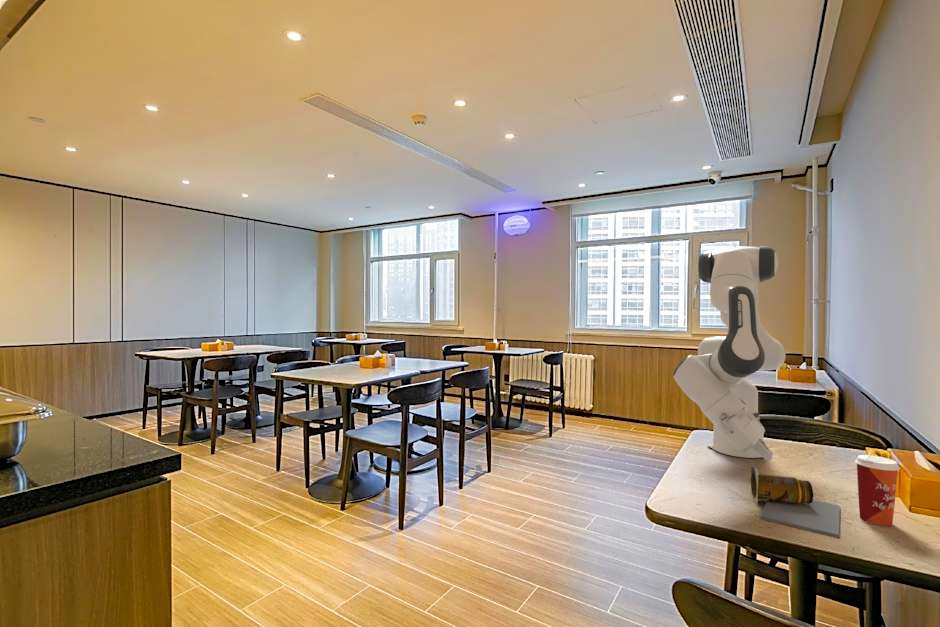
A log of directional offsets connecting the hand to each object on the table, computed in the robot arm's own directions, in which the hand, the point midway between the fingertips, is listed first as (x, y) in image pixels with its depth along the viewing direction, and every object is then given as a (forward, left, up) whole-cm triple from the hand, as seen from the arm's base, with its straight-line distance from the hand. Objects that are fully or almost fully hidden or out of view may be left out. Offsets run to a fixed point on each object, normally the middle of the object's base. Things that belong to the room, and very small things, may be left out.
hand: (770, 457), depth 116 cm
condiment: (-2, -4, -7) cm, 8 cm away
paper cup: (-6, +20, -12) cm, 24 cm away
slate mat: (0, +6, -12) cm, 13 cm away
